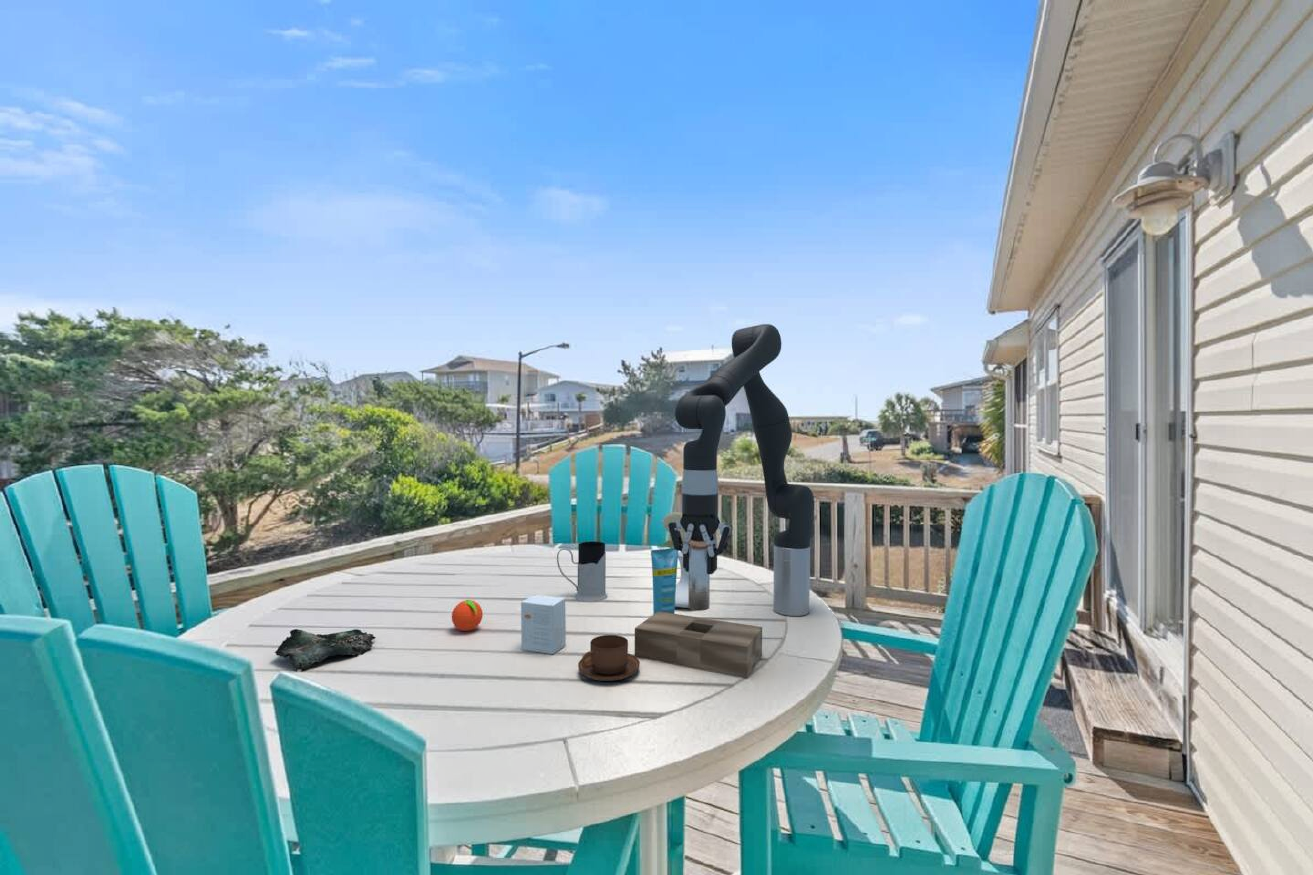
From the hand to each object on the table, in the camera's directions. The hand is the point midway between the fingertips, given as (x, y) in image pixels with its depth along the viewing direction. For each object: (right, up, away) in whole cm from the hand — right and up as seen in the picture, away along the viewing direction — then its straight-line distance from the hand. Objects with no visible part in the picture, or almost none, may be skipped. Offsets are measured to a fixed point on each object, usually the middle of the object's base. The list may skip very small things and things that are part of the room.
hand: (699, 571), depth 118 cm
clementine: (-53, -17, +14) cm, 58 cm away
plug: (0, -7, 0) cm, 7 cm away
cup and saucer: (-18, -18, -8) cm, 27 cm away
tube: (-7, -17, +16) cm, 25 cm away
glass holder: (-30, -17, +41) cm, 54 cm away
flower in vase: (-2, -17, +35) cm, 39 cm away
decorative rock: (-78, -18, +1) cm, 80 cm away
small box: (-34, -18, +4) cm, 38 cm away
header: (0, -18, 0) cm, 18 cm away
